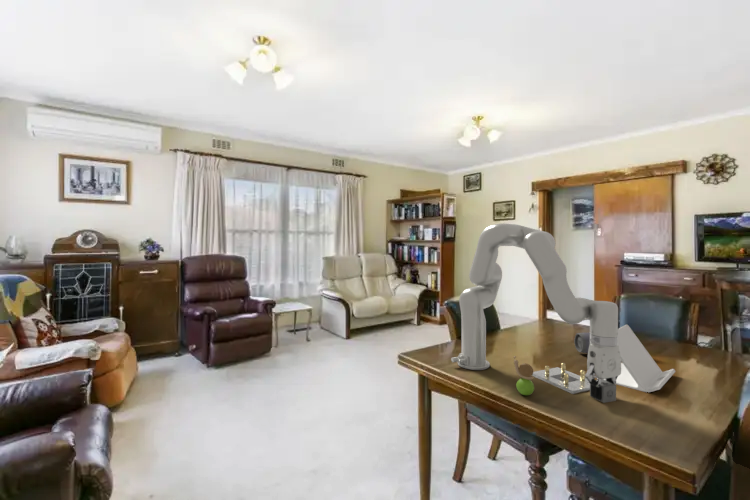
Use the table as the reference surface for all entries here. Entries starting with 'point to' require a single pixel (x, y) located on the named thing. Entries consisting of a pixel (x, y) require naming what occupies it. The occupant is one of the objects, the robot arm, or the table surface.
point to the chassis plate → (564, 379)
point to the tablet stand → (638, 364)
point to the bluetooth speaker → (582, 342)
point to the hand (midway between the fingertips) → (602, 395)
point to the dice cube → (607, 391)
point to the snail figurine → (524, 378)
